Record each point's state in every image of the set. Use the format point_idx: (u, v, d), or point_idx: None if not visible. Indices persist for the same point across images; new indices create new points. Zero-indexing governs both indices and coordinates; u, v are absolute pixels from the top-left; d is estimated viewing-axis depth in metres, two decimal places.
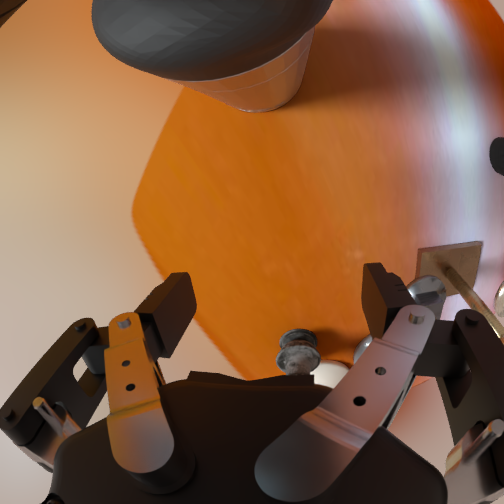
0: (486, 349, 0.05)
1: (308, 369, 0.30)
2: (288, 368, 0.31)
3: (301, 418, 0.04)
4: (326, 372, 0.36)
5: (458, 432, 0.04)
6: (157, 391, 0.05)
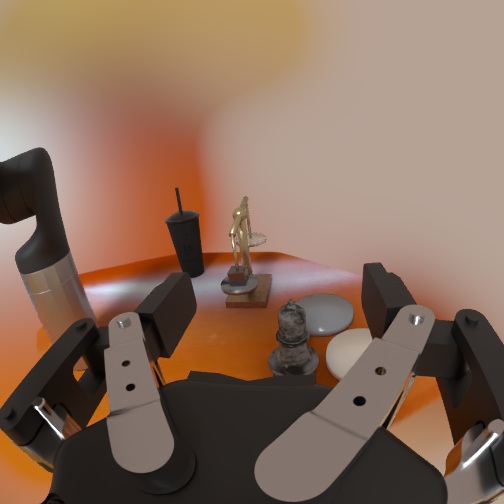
0: (486, 349, 0.05)
1: None
2: (284, 354, 0.28)
3: (301, 418, 0.04)
4: (338, 349, 0.32)
5: (458, 432, 0.04)
6: (157, 391, 0.05)
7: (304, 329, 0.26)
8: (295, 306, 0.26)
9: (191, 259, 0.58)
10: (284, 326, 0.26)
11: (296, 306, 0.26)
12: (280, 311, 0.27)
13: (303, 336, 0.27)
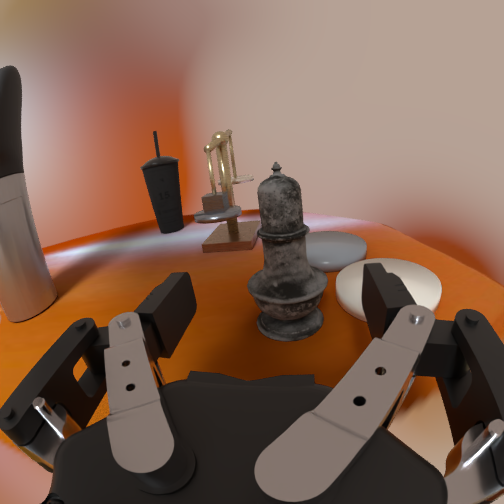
0: (486, 349, 0.05)
1: None
2: (270, 263, 0.18)
3: (301, 418, 0.04)
4: (354, 279, 0.23)
5: (458, 432, 0.04)
6: (157, 391, 0.05)
7: (300, 213, 0.17)
8: (283, 174, 0.17)
9: (167, 210, 0.49)
10: (267, 203, 0.17)
11: (284, 175, 0.17)
12: (261, 184, 0.17)
13: (299, 226, 0.17)
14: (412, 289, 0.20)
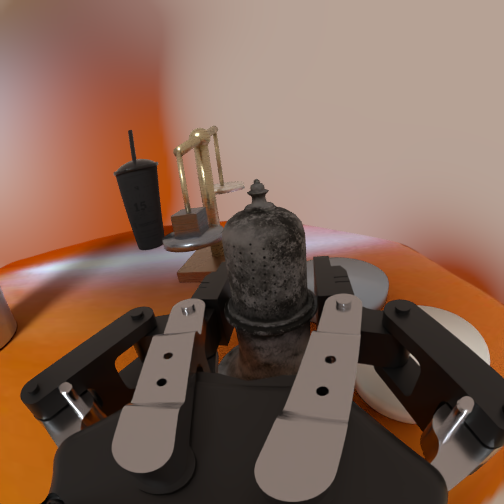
0: (427, 335, 0.06)
1: None
2: (247, 359, 0.10)
3: (301, 418, 0.04)
4: None
5: (420, 416, 0.05)
6: (185, 394, 0.05)
7: (303, 281, 0.09)
8: (272, 205, 0.09)
9: (144, 223, 0.41)
10: (238, 266, 0.08)
11: (274, 206, 0.09)
12: (227, 222, 0.09)
13: (300, 304, 0.09)
14: None
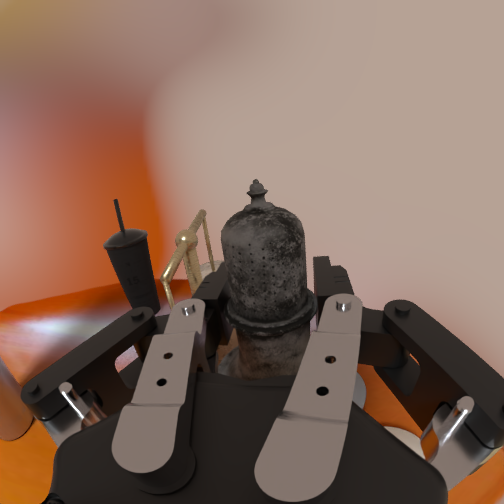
0: (427, 335, 0.06)
1: None
2: (247, 359, 0.10)
3: (301, 418, 0.04)
4: None
5: (420, 416, 0.05)
6: (185, 394, 0.05)
7: (302, 281, 0.09)
8: (271, 205, 0.09)
9: (139, 295, 0.41)
10: (237, 267, 0.08)
11: (273, 206, 0.09)
12: (227, 223, 0.09)
13: (300, 304, 0.09)
14: None
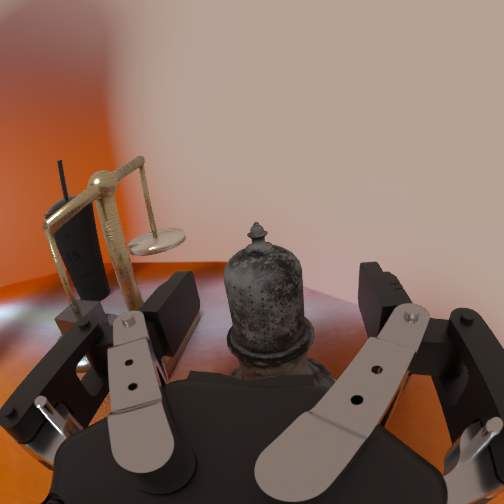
0: (482, 347, 0.05)
1: None
2: None
3: (301, 418, 0.04)
4: None
5: (456, 430, 0.04)
6: (159, 391, 0.05)
7: (299, 316, 0.09)
8: (271, 246, 0.09)
9: (81, 275, 0.31)
10: (239, 305, 0.09)
11: (272, 247, 0.09)
12: (229, 262, 0.10)
13: (297, 336, 0.10)
14: None
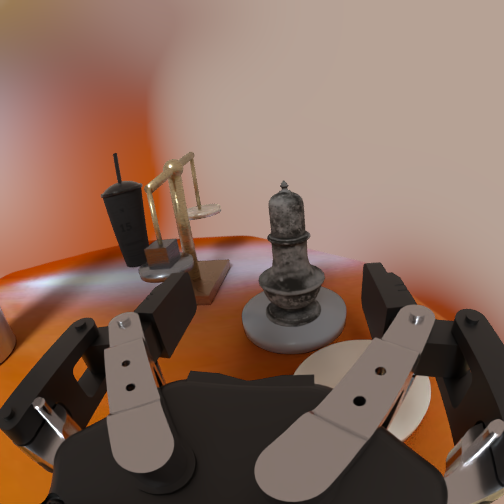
0: (486, 349, 0.05)
1: None
2: (278, 262, 0.22)
3: (301, 418, 0.04)
4: (314, 381, 0.17)
5: (458, 432, 0.04)
6: (157, 391, 0.05)
7: (302, 222, 0.21)
8: (289, 191, 0.21)
9: (130, 242, 0.43)
10: (276, 214, 0.21)
11: (290, 191, 0.21)
12: (271, 198, 0.21)
13: (302, 233, 0.21)
14: None
